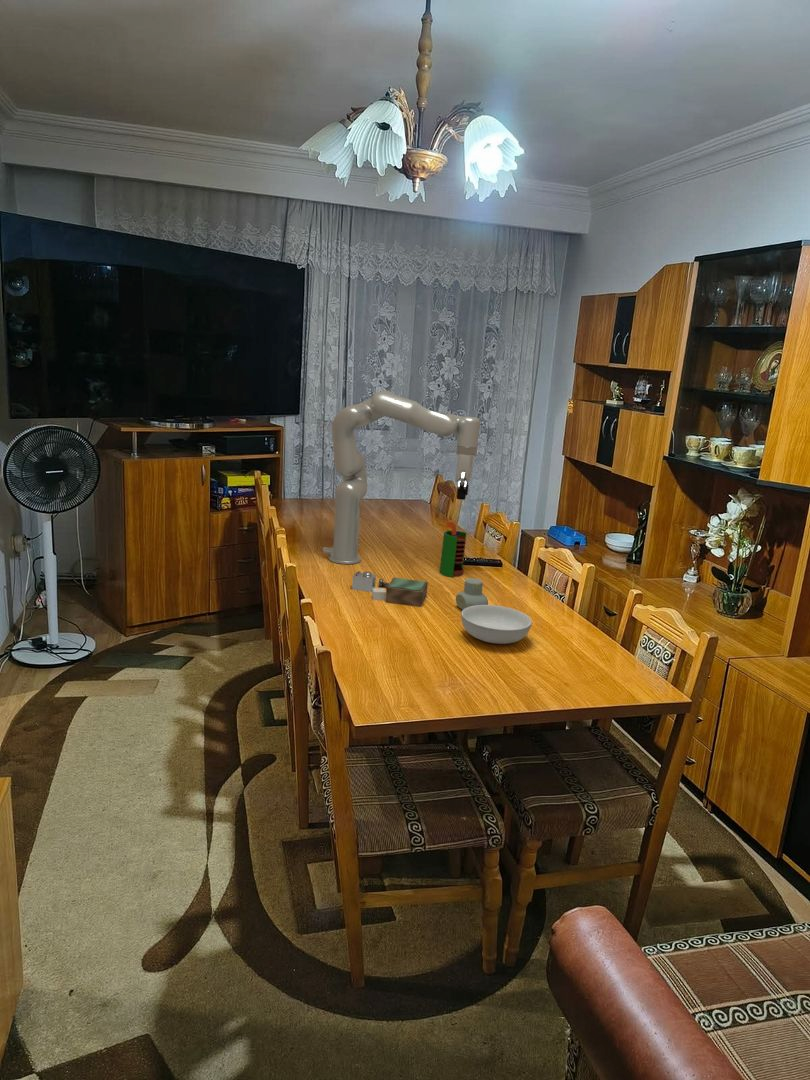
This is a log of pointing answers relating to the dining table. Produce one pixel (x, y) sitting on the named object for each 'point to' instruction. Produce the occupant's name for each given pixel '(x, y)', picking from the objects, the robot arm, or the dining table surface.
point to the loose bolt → (383, 583)
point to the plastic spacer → (378, 594)
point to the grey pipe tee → (471, 594)
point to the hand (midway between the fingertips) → (462, 496)
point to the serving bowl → (495, 623)
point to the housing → (363, 581)
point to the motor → (452, 551)
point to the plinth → (406, 592)
